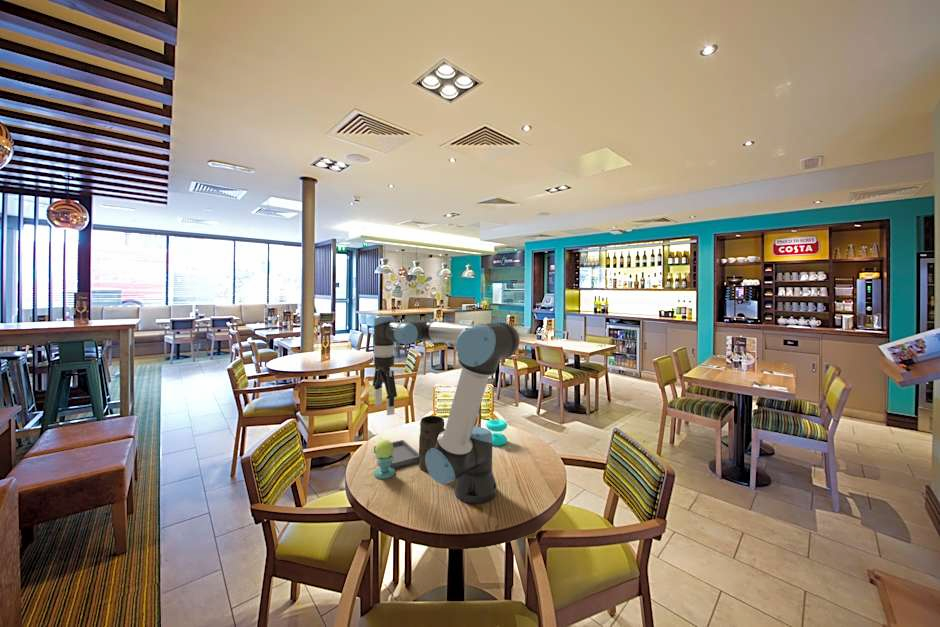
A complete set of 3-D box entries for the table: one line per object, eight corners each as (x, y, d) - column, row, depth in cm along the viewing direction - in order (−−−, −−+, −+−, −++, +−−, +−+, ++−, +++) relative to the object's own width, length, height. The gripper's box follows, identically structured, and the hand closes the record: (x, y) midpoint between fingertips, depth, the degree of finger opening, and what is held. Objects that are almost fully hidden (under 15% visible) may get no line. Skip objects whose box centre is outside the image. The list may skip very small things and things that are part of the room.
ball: (396, 459, 143) (396, 441, 143) (379, 463, 139) (378, 445, 139) (389, 452, 149) (389, 435, 148) (373, 456, 145) (372, 439, 145)
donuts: (498, 427, 168) (482, 422, 175) (498, 448, 169) (481, 442, 175) (511, 421, 176) (494, 417, 182) (510, 442, 176) (494, 436, 183)
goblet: (398, 475, 143) (398, 457, 143) (378, 481, 139) (378, 462, 138) (390, 467, 150) (390, 450, 149) (371, 472, 145) (371, 454, 145)
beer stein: (412, 467, 149) (414, 420, 148) (427, 457, 159) (429, 412, 157) (444, 479, 142) (447, 430, 141) (457, 467, 152) (460, 421, 150)
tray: (421, 461, 155) (421, 455, 155) (390, 469, 148) (390, 464, 147) (403, 444, 172) (403, 439, 172) (373, 451, 164) (373, 446, 164)
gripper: (406, 360, 133) (406, 417, 135) (382, 350, 154) (382, 399, 155) (386, 361, 129) (386, 420, 130) (364, 351, 150) (364, 402, 151)
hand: (384, 409), depth 143 cm, fingers open, 13 cm apart
